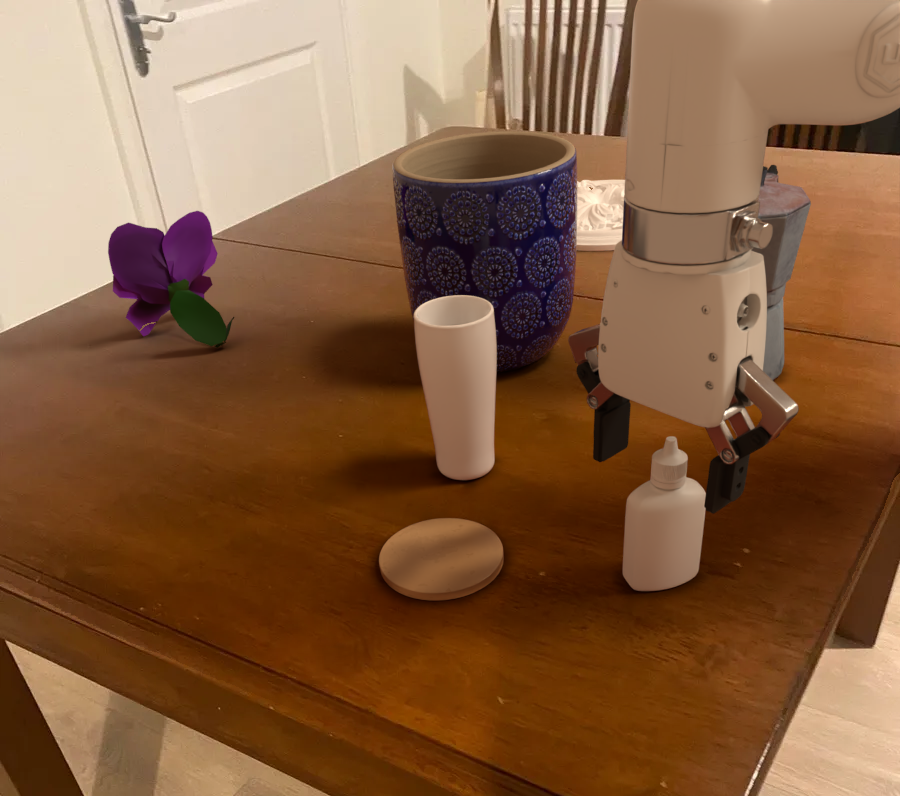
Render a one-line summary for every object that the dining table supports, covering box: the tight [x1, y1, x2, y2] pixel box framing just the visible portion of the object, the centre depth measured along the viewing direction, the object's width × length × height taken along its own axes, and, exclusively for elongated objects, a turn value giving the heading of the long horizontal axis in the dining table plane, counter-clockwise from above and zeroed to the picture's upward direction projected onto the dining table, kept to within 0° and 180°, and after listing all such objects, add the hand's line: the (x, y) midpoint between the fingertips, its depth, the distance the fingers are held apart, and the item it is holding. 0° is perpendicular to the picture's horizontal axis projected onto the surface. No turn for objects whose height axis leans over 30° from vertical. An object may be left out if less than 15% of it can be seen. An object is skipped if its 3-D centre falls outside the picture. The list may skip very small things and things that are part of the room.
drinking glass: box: [413, 295, 498, 481], centre depth 80 cm, size 7×7×15 cm
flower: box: [107, 210, 236, 349], centre depth 110 cm, size 15×15×14 cm
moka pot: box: [751, 164, 812, 381], centre depth 89 cm, size 10×15×20 cm, turn 158°
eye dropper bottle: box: [622, 435, 706, 592], centre depth 66 cm, size 4×6×12 cm
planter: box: [391, 130, 578, 373], centre depth 97 cm, size 18×18×21 cm
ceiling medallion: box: [576, 179, 625, 252], centre depth 134 cm, size 28×28×3 cm
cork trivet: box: [378, 517, 505, 602], centre depth 74 cm, size 10×10×1 cm
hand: (663, 477), depth 64 cm, fingers open, 9 cm apart
